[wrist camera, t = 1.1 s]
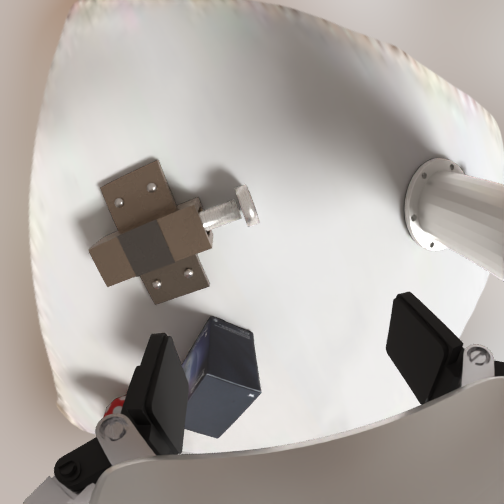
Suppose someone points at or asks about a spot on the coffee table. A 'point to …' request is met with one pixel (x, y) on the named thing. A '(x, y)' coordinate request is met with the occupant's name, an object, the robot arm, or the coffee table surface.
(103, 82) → the coffee table surface
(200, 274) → the hinge
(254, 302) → the coffee table surface
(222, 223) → the hinge pin
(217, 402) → the small box
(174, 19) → the coffee table surface
